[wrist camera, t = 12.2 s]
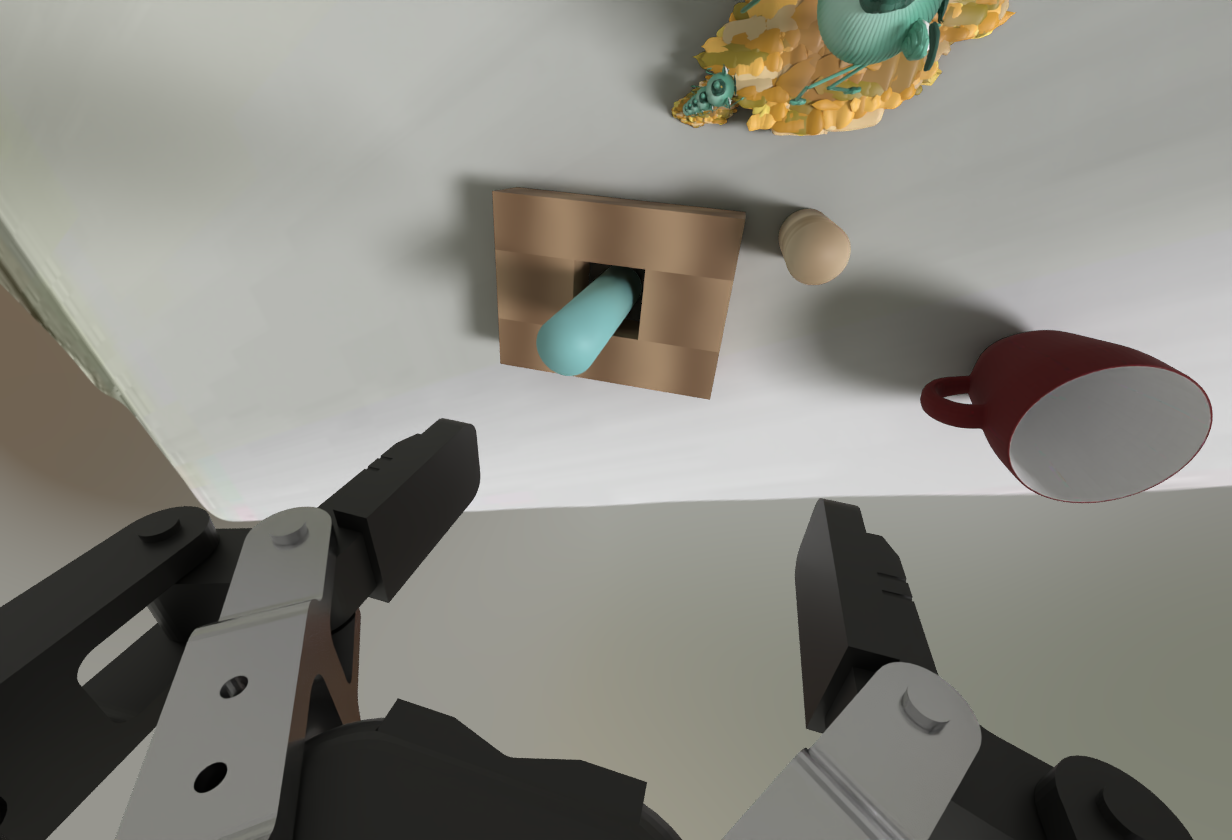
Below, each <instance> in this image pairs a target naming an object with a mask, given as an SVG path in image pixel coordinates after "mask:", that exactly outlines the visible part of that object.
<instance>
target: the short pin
mask: <svg viewBox="0 0 1232 840" xmlns="http://www.w3.org/2000/svg"><path fill="white" fill-rule="evenodd" d="M778 241H779V246H780V249H781V251H782V254H783V257H784V260H785V262H786V265H787V268H788V270H789V272H790V274H791V275H792V276H793V277H794V278H795V279H796V280H797V281H799V282H801V283H804V284H808V285H819V284H823V283H826V282H829V281H831V280H832V279H834V278H835V277H837V276H838V275H839V274H840V273H841V272H842V271H843V269H844V268H845V266H846V265H847V263H848V260H849V257H850V251H851V247H850V241H849V238H848V236H847V235H846V233H845V232H844V231H843V230H842V229H841V228H840V227H839V226H837V225H836V224H835V223H834V222H832V221H831V220H830V219H829V218H828V217H826V216H825V215H824V214H823V213H821V212H820V211H818V210H815V209H801V210H798V211H796V212H794V213H792V214H791V215H790V216H789V217H787V219H786V220H785V221H784V222H783V224H782V226H781V228H780V231H779V235H778Z"/></svg>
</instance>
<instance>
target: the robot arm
mask: <svg viewBox="0 0 1232 840" xmlns="http://www.w3.org/2000/svg"><path fill="white" fill-rule="evenodd" d="M479 484H480V466H479V456H478V445H477V435H476V430H475V427H474V426H473V425H472V424H468V423H464V422H459V421H454V420H449V419H444V418H442V419H439V420H438V421H436V422H435V423H434V424H433V425H432V426H430V427H429V428H428V429H427V430H426V431H425V432H423V433H422V434H416V435H413V436H411V437H409V438H407V439H404V440H402V441H400V442H398V443H396V444H395V445H393V446H392V447H391V448H390V449H389V450H387V451H386V452H385V453H384V454H382V455H381V458H380V459H379V458H377V459H376V460H375V461H374V462H373V463H371V464H370V465H369V466H368V469H364V470H363V471H362V472H360V473H359V474H358V475H357V476H355V477H354V478H353V479H352V480H351V481H349V482H348V483H347V484H346V485H344V486H343V487H342V488H341V489H339V490H338V491H337V492H336V493H335V494H333V495H332V496H331V497H330V498H328V499H327V500H326V501H325V502H324V503H322V504H321V505H320V506H319V507H317V508H315V507H298V508H292V509H287V510H284V511H281V512H278V513H276V514H273V515H271V516H269V517H268V518H266V519H264V520H263V521H261V522H260V523H259V524H257V525H256V526H255V527H254V528H247V529H245V528H240V529H215V527H214V525H213V523H212V521H211V519H210V516H209V514H208V513H207V512H206V511H205V510H203V509H201V508H198V507H191V506H189V507H188V506H184V507H175V508H169V509H165V510H161V511H158V512H155V513H152V514H150V515H147V516H145V517H143V518H141V519H139V520H137V521H135V522H133V523H131V524H130V525H128V526H127V527H125V528H124V529H122V530H120V531H119V532H117V533H116V534H114V535H113V536H111V537H109V538H108V539H106V540H105V541H103V542H102V543H100V544H99V545H97V546H95V547H94V548H92V549H91V550H89V551H88V552H86V553H84V554H83V555H82V556H80V557H78V558H77V559H76V560H74V561H72V562H70V563H69V564H67V565H66V566H64V567H63V568H61V569H60V570H58V571H56V572H55V573H53V574H52V575H50V576H49V577H47V578H46V579H44V580H42V581H41V582H39V583H38V584H36V585H34V586H33V587H31V588H30V589H28V590H27V591H25V592H24V593H22V594H20V595H19V596H18V597H16V598H14V599H13V600H11V601H10V602H8V603H6V604H5V605H3V606H2V607H0V840H46V839H47V838H48V836H49V835H50V834H51V833H52V832H53V831H54V830H55V829H56V828H57V827H58V826H59V825H60V824H61V823H62V822H63V821H64V820H65V819H66V818H67V817H68V816H69V815H70V814H71V813H72V812H73V811H74V810H75V809H76V808H77V807H78V806H79V805H80V804H81V803H82V802H83V801H84V800H85V799H86V798H87V797H88V795H90V794H91V792H92V791H93V790H94V789H95V788H96V787H97V786H98V785H99V784H100V783H101V782H102V781H103V780H104V779H105V778H106V777H107V776H108V775H109V774H110V773H111V772H112V771H113V770H114V769H115V768H116V767H117V766H118V765H119V764H120V763H121V762H122V761H123V760H124V759H125V758H126V757H127V756H128V755H129V754H130V753H131V752H132V751H133V750H134V748H135V747H136V746H137V745H138V744H139V743H140V742H141V741H142V740H143V739H144V738H145V737H146V736H147V735H148V734H149V733H150V732H151V731H152V730H153V729H154V728H155V727H156V729H155V732H154V734H153V737H152V740H151V742H150V745H149V748H148V750H147V753H146V756H145V759H144V761H143V764H142V767H141V769H140V772H139V775H138V778H137V780H136V783H135V786H134V788H133V791H132V794H131V797H130V800H129V802H128V805H127V807H126V810H125V813H124V816H123V819H122V821H121V824H120V827H119V829H118V832H117V835H116V837H115V840H682V839H681V838H680V837H679V835H678V834H677V833H676V832H675V831H674V830H673V828H672V827H671V826H669V824H668V823H666V822H665V821H664V820H663V819H662V818H661V817H660V816H659V815H658V814H657V813H656V812H654V811H653V810H651V809H650V808H648V807H647V806H646V805H645V804H643V801H644V796H645V789H646V784H647V782H644V781H642V780H639V779H636V778H633V777H629V776H627V775H624V774H621V773H618V772H615V771H612V770H609V769H606V768H603V767H600V766H597V765H594V764H591V763H588V762H585V761H582V760H564V759H562V760H561V759H531V758H512V757H508V756H506V755H504V754H502V753H501V752H500V751H498V750H497V749H496V748H494V747H493V746H492V745H490V744H489V743H488V742H486V741H485V740H484V739H482V738H481V737H480V736H478V735H477V734H476V733H474V732H473V731H472V730H470V729H469V728H468V727H466V726H465V725H464V724H462V723H461V722H460V721H458V720H457V719H456V718H454V717H452V716H449V715H446V714H443V713H440V712H437V711H434V710H431V709H428V708H425V707H422V706H419V705H416V704H413V703H410V702H407V701H404V700H401V699H397V701H396V702H395V704H394V705H393V707H392V708H391V710H390V711H389V713H388V714H387V716H386V717H385V718H376V719H367V720H361V719H360V712H359V706H358V675H359V674H358V673H359V651H360V626H361V613H360V610H359V607H360V605H361V604H362V603H363V602H364V601H365V600H366V599H367V598H368V597H371V598H374V599H377V600H381V601H384V602H387V603H389V602H390V601H391V600H392V598H393V597H394V596H395V595H396V593H397V592H398V591H399V590H400V589H401V587H402V586H403V585H404V584H405V582H406V581H407V580H408V579H409V578H410V576H411V575H412V574H413V572H414V571H415V570H416V569H417V568H418V567H419V565H420V564H421V563H422V561H423V560H424V559H425V558H426V557H427V555H428V554H429V553H430V552H431V551H432V549H433V548H434V547H435V546H436V544H437V543H438V542H439V541H440V540H441V538H442V537H443V536H444V535H445V533H446V532H447V531H448V530H449V529H450V527H451V526H452V525H453V524H454V522H455V521H456V520H457V519H458V517H459V516H460V515H461V514H462V513H463V511H464V510H465V509H466V508H467V506H468V505H469V504H470V503H471V502H472V500H473V499H474V497H475V495H476V493H477V491H478V488H479ZM795 586H796V599H797V611H798V612H797V613H798V626H799V640H800V653H801V667H802V680H803V693H804V708H805V720H806V729H809V730H813V731H816V732H819V733H823V734H822V735H821V736H820V738H819V739H818V740H817V741H816V742H815V743H814V744H813V745H812V747H810V748H809V749H807V748H804V749H803V750H802V751H800V752H799V753H798V754H797V755H796V756H795V758H793V759H792V761H791V762H790V763H789V764H788V765H787V766H786V767H785V768H784V769H783V771H782V772H781V773H780V774H779V775H778V776H777V777H776V778H775V780H774V781H773V782H772V783H771V784H770V785H769V786H768V788H767V789H766V790H765V791H764V792H763V793H762V794H761V796H760V797H759V798H758V799H757V800H756V801H755V802H754V803H753V804H752V806H751V807H750V808H749V809H748V810H747V811H746V812H745V813H744V815H743V816H742V817H741V818H740V819H739V820H738V821H737V823H736V824H735V825H734V826H733V827H732V828H731V829H730V830H729V832H728V833H727V834H726V835H725V836H724V837H723V838H722V840H1193V839H1192V837H1191V836H1190V834H1189V832H1188V831H1187V829H1186V828H1185V827H1184V826H1183V824H1182V823H1181V822H1180V821H1179V819H1178V818H1177V817H1176V816H1175V815H1174V814H1173V812H1172V811H1171V810H1170V809H1169V808H1168V807H1167V806H1166V805H1165V804H1164V803H1163V802H1162V801H1161V800H1160V799H1159V798H1158V797H1157V796H1155V794H1153V793H1152V792H1151V791H1150V790H1148V789H1147V788H1146V787H1145V786H1144V785H1142V784H1141V783H1140V782H1138V781H1137V780H1135V779H1134V778H1133V777H1131V776H1130V775H1128V774H1126V773H1125V772H1123V771H1121V770H1120V769H1118V768H1116V767H1114V766H1112V765H1110V764H1108V763H1105V762H1103V761H1100V760H1098V759H1094V758H1091V757H1087V756H1069V757H1067V758H1064V759H1063V760H1062V761H1060V763H1058V764H1057V765H1056V766H1055V767H1052V766H1050V765H1049V764H1047V763H1045V762H1043V761H1041V760H1039V759H1038V758H1036V757H1034V756H1032V755H1030V754H1028V753H1027V752H1025V751H1023V750H1021V749H1019V748H1017V747H1016V746H1014V745H1012V744H1010V743H1008V742H1006V741H1005V740H1003V739H1001V738H999V737H997V736H996V735H994V734H992V733H991V732H989V731H987V730H986V729H985V728H983V727H982V726H981V725H979V723H978V720H977V718H976V716H975V714H974V712H973V710H972V709H971V708H970V706H969V704H968V703H967V701H966V700H965V699H964V698H963V697H962V695H961V694H959V692H958V691H957V690H955V688H954V687H953V686H951V685H950V684H949V683H948V682H946V681H945V680H944V679H942V678H941V677H939V675H938V673H937V670H936V667H935V664H934V661H933V658H932V655H931V652H930V649H929V647H928V643H927V640H926V637H925V634H924V632H923V628H922V625H921V622H920V619H919V616H918V613H917V610H916V607H915V604H914V602H913V601H912V594H911V591H910V588H909V585H908V583H906V576H905V573H904V570H903V567H902V564H901V561H900V558H899V556H898V555H897V554H896V553H895V551H894V550H893V549H892V548H891V547H890V545H889V544H888V543H887V542H886V540H885V539H884V538H883V537H882V536H879V535H875V534H870V533H866V530H865V526H864V522H863V518H862V515H861V511H860V508H859V507H858V506H855V505H851V504H846V503H841V502H836V501H832V500H826V499H822V498H820V499H819V500H818V501H817V503H816V505H815V508H814V510H813V513H812V516H811V518H810V522H809V524H808V527H807V530H806V532H805V535H804V538H803V540H802V543H801V546H800V549H799V552H798V556H797V561H796V569H795ZM146 606H147V607H148V608H149V610H150V611H151V613H152V615H153V616H154V618H155V619H156V620H157V622H158V623H157V624H156V625H155V626H153V627H152V628H151V629H150V630H149V631H147V632H146V633H145V634H144V635H143V636H141V637H140V638H139V639H138V640H137V641H136V642H134V643H133V644H132V645H131V646H130V647H128V648H127V649H126V650H125V651H124V652H122V653H121V654H120V655H119V656H118V657H117V658H115V659H114V660H113V661H112V662H111V663H109V664H108V665H107V666H106V667H105V668H104V669H102V670H101V671H100V672H99V673H98V674H96V675H95V676H94V677H93V678H92V679H90V680H89V681H88V682H87V683H86V684H85V685H84V686H82V687H81V685H80V684H79V683H78V680H77V673H78V669H79V667H80V665H81V663H82V661H83V660H84V658H85V657H86V656H87V654H89V653H90V652H91V651H92V650H93V649H94V648H95V647H96V646H98V644H100V643H101V642H103V641H104V640H105V639H106V638H108V637H109V636H110V635H111V634H113V633H114V632H115V631H116V630H118V629H119V628H120V627H121V626H123V625H124V624H125V623H126V622H127V621H129V620H130V619H131V618H132V617H134V616H135V615H136V614H138V613H139V612H140V611H141V610H143V609H144V608H145V607H146Z"/></svg>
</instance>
